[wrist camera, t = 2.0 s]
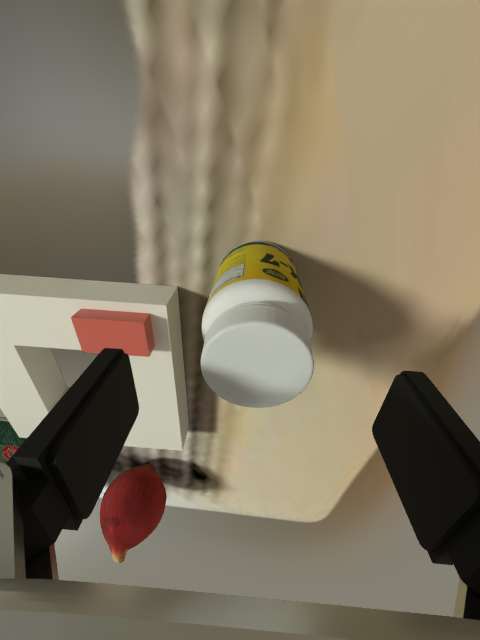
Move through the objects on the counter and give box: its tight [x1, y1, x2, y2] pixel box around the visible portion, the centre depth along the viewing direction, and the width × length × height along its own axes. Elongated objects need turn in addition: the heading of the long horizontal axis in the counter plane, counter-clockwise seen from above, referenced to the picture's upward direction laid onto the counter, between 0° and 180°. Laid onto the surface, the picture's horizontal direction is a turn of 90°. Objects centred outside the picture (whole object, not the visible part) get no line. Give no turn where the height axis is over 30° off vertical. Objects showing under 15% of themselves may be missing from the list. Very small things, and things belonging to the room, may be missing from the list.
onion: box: [100, 464, 166, 563], centre depth 25 cm, size 6×6×8 cm
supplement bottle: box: [201, 241, 314, 408], centre depth 13 cm, size 5×5×8 cm
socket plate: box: [0, 274, 189, 451], centre depth 19 cm, size 14×14×4 cm
